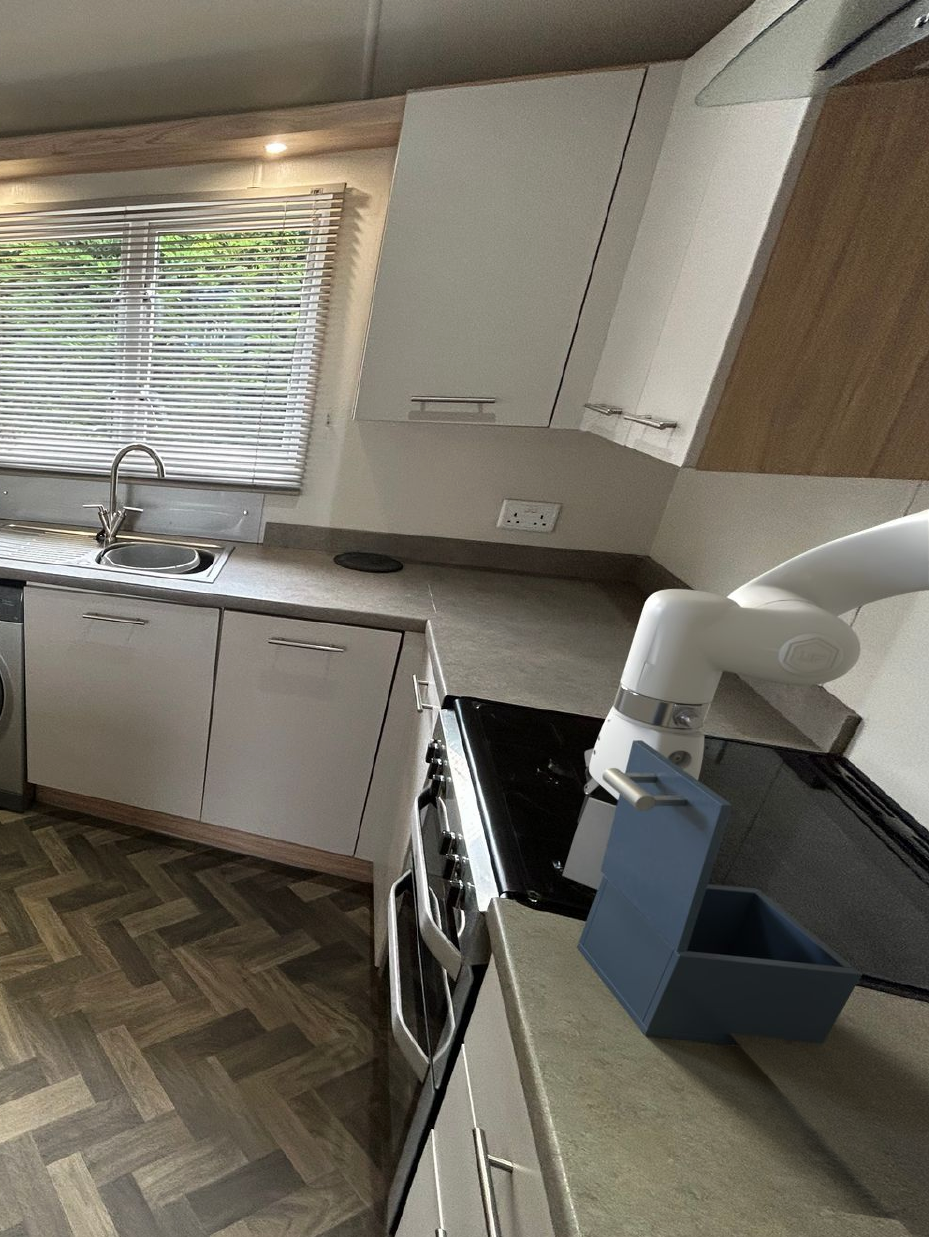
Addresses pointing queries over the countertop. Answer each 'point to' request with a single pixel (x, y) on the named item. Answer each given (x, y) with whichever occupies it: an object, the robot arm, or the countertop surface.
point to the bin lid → (663, 841)
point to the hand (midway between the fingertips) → (613, 844)
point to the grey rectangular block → (590, 844)
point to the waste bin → (718, 969)
